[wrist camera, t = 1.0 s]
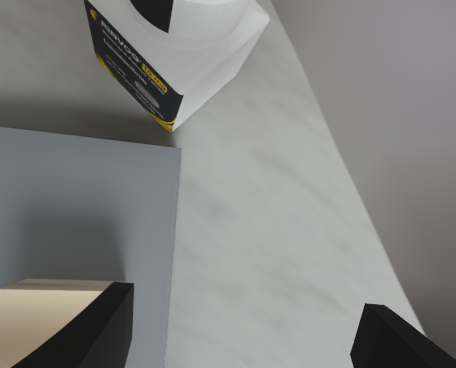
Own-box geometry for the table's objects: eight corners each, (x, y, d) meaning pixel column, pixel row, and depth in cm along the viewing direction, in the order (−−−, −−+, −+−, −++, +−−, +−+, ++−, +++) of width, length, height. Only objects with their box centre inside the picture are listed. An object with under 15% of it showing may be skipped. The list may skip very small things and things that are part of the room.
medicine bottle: (94, 59, 23) (55, -114, 12) (170, 2, 25) (199, -191, 14) (169, 135, 24) (200, 41, 12) (237, 74, 26) (319, -55, 15)
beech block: (116, 377, 19) (111, 413, 15) (12, 381, 17) (-23, 421, 14) (126, 281, 19) (123, 291, 16) (27, 278, 18) (-2, 289, 14)
